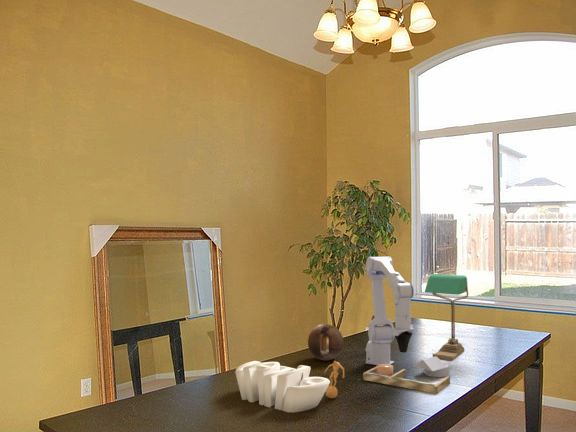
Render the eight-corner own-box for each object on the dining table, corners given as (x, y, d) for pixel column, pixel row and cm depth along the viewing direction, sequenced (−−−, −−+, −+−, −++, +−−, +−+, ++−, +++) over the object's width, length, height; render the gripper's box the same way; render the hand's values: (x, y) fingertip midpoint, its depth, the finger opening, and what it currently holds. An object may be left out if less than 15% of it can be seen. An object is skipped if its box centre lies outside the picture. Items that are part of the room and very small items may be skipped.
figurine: (318, 396, 178) (318, 360, 178) (329, 392, 182) (329, 357, 183) (337, 402, 172) (337, 365, 172) (348, 398, 177) (348, 361, 177)
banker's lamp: (472, 352, 238) (472, 274, 239) (460, 362, 221) (460, 278, 221) (437, 347, 247) (437, 272, 247) (423, 357, 229) (422, 276, 230)
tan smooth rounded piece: (374, 378, 199) (374, 366, 199) (381, 374, 204) (381, 362, 204) (389, 381, 196) (389, 368, 196) (395, 377, 200) (395, 365, 201)
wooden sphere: (317, 354, 236) (316, 320, 236) (348, 358, 229) (348, 323, 229) (301, 361, 223) (301, 325, 223) (335, 366, 215) (334, 329, 216)
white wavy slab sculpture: (223, 394, 181) (223, 363, 181) (257, 383, 193) (257, 354, 193) (303, 419, 158) (303, 383, 158) (336, 404, 170) (336, 371, 171)
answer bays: (363, 379, 197) (363, 372, 197) (379, 370, 209) (379, 364, 209) (436, 393, 181) (436, 385, 181) (450, 383, 193) (450, 375, 193)
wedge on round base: (432, 380, 196) (453, 374, 204) (432, 362, 196) (453, 356, 205) (413, 375, 203) (433, 369, 212) (413, 357, 203) (433, 352, 212)
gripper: (405, 319, 190) (405, 357, 190) (420, 313, 202) (420, 349, 202) (387, 317, 194) (387, 354, 194) (403, 311, 206) (403, 347, 206)
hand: (403, 352), depth 198 cm, fingers closed
